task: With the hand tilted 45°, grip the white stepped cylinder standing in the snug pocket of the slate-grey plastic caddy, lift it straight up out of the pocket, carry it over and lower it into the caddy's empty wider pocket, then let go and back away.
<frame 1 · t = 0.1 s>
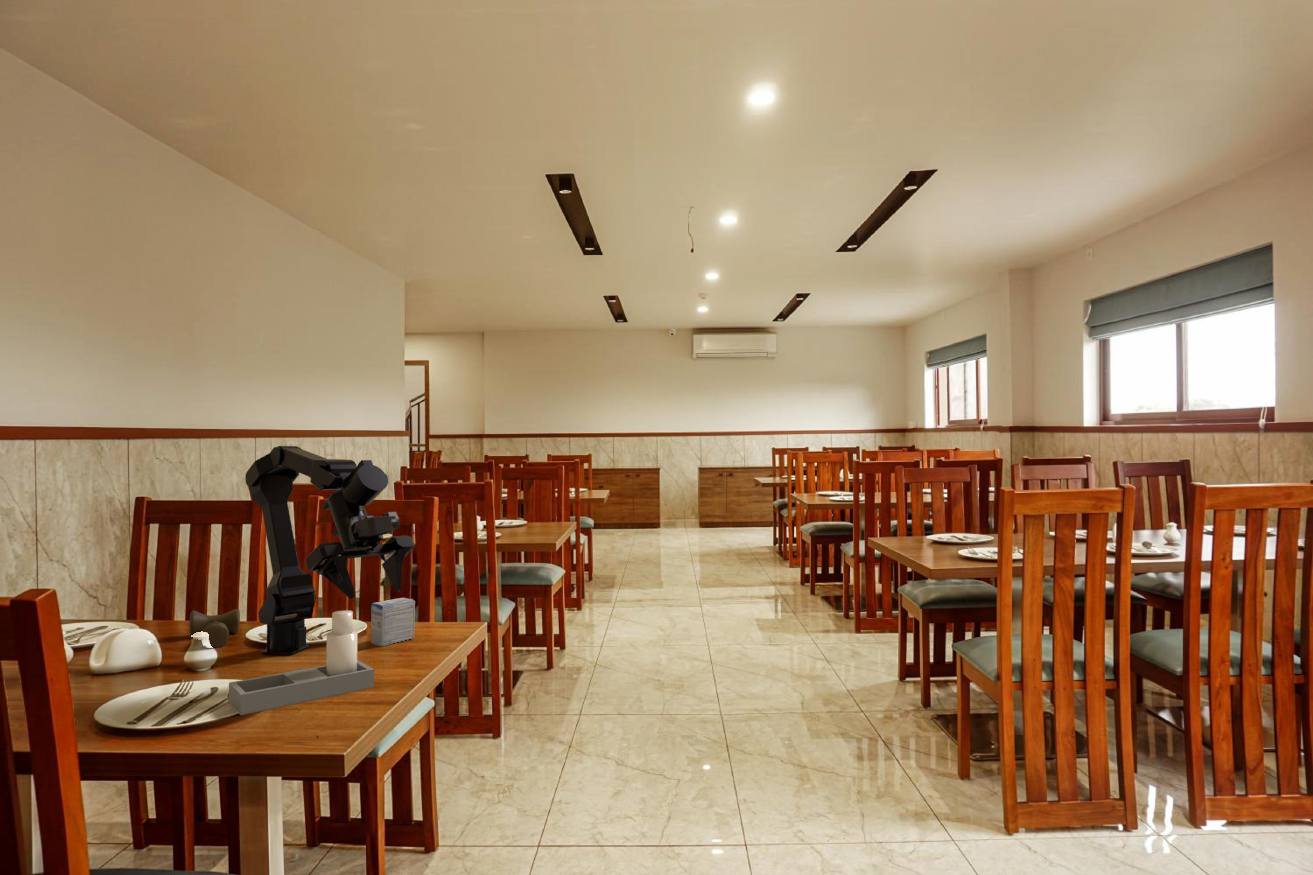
hand: (376, 594, 130), 15 cm above the table, tool tilted 35°, fingers open, 9 cm apart
caddy: (303, 697, 119), on the table
medicine box: (392, 642, 155), on the table
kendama: (214, 640, 158), on the table
white stepped cylinder: (341, 686, 123), point 1 cm above the table, touching caddy
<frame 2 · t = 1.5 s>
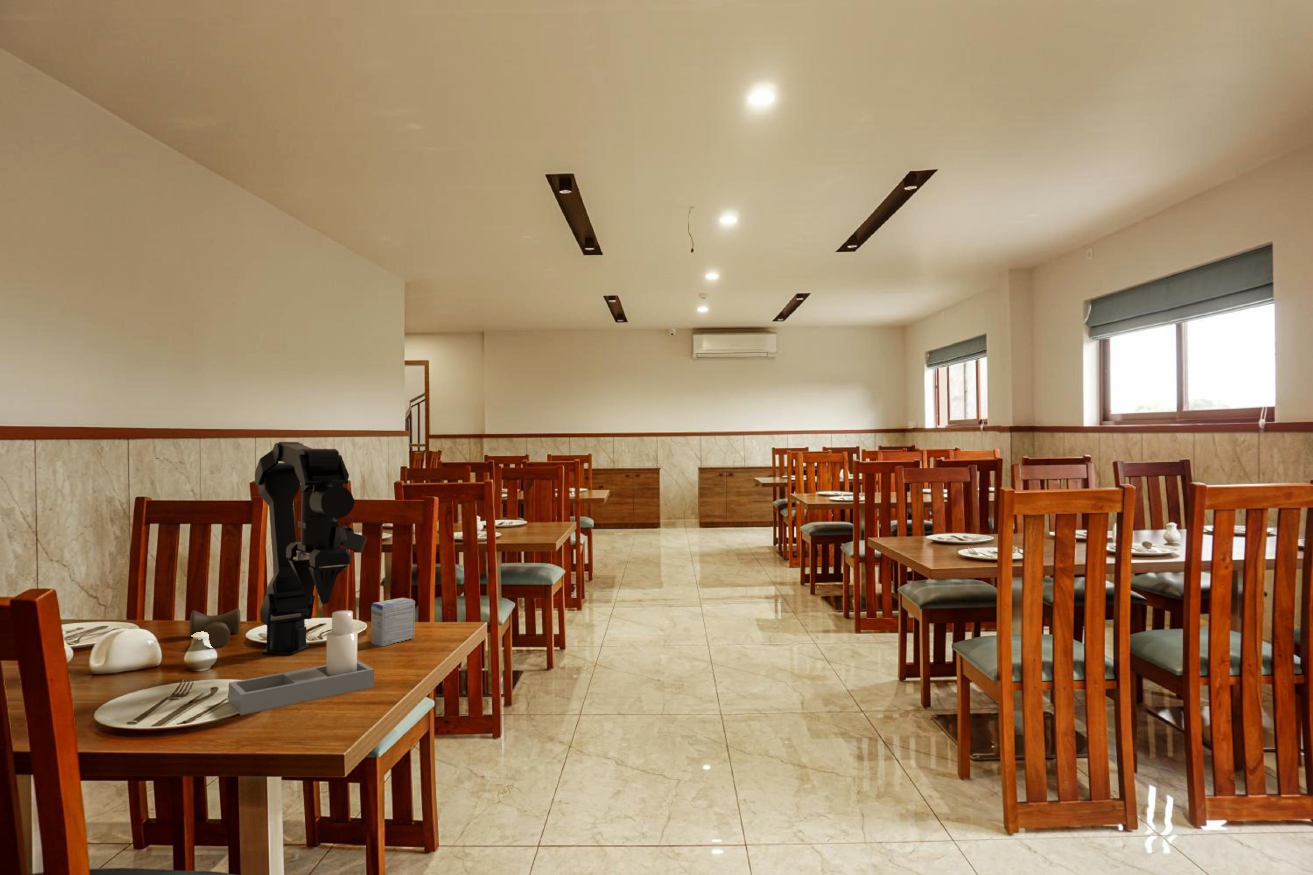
hand: (317, 600, 134), 13 cm above the table, tool pointing down, fingers open, 9 cm apart
nothing on the table moved.
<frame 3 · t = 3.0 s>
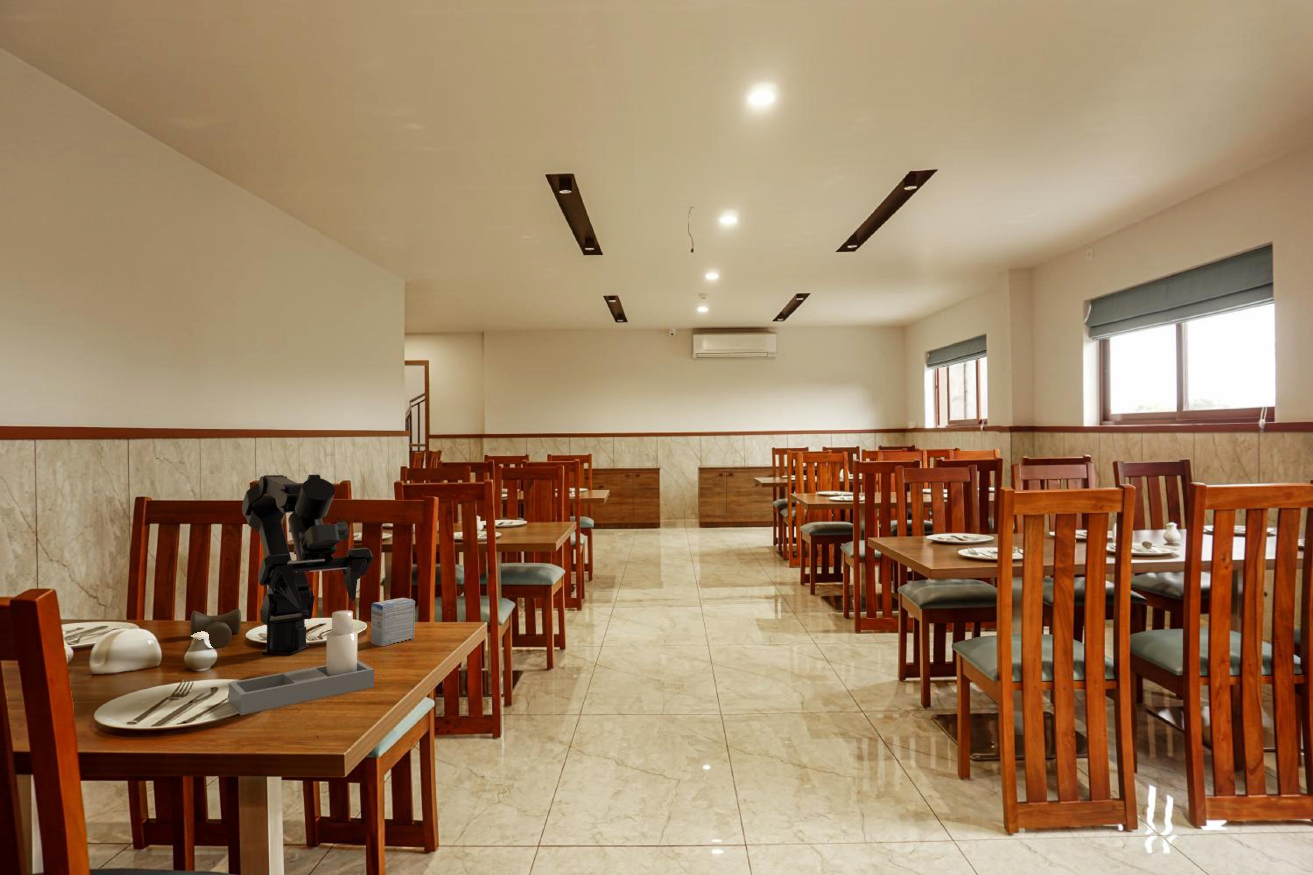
hand: (327, 603, 129), 13 cm above the table, tool tilted 45°, fingers open, 9 cm apart
nothing on the table moved.
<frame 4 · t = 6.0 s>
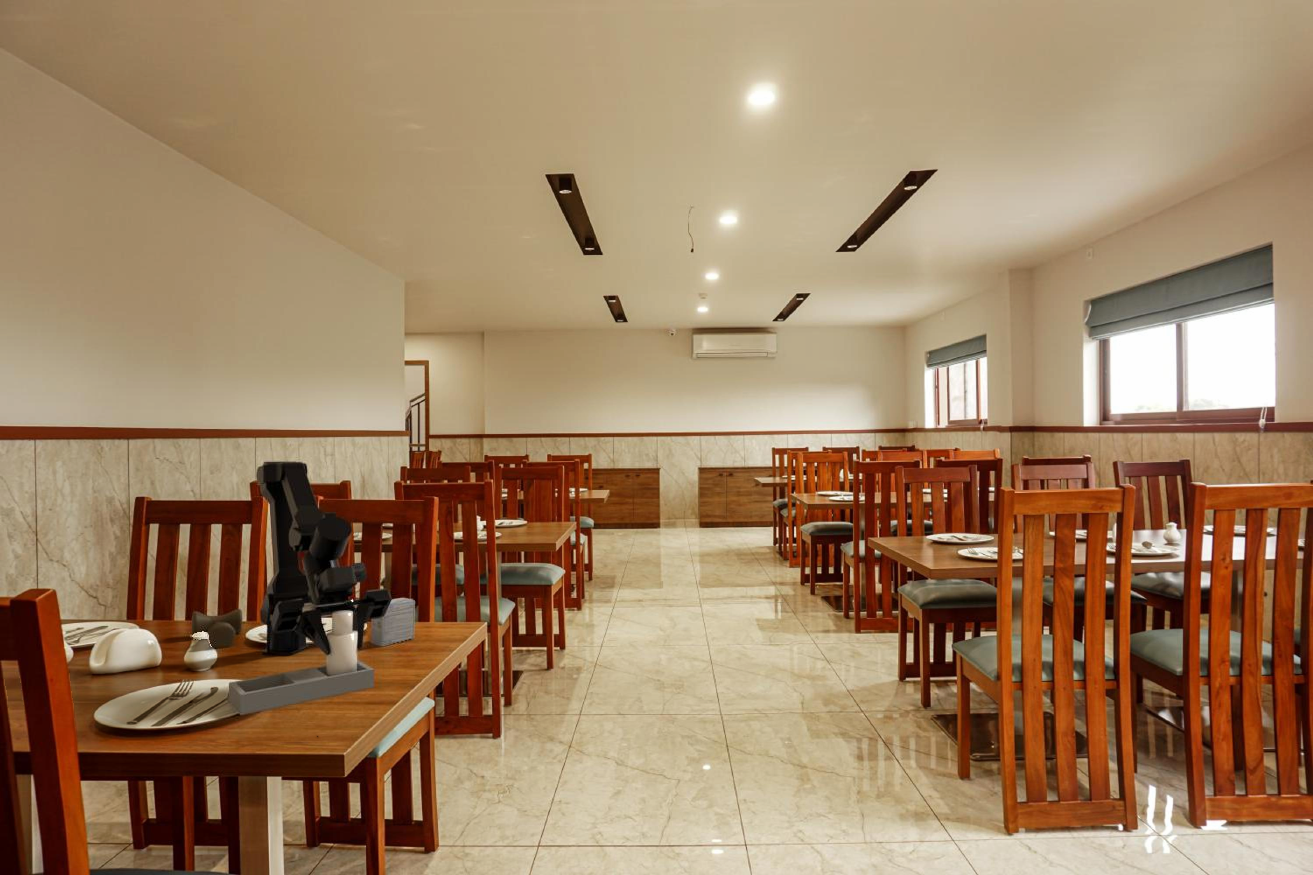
hand: (344, 650, 122), 7 cm above the table, tool tilted 45°, fingers closed on white stepped cylinder, 5 cm apart
white stepped cylinder: (341, 686, 123), point 1 cm above the table, touching caddy, gripper
everything else where it was.
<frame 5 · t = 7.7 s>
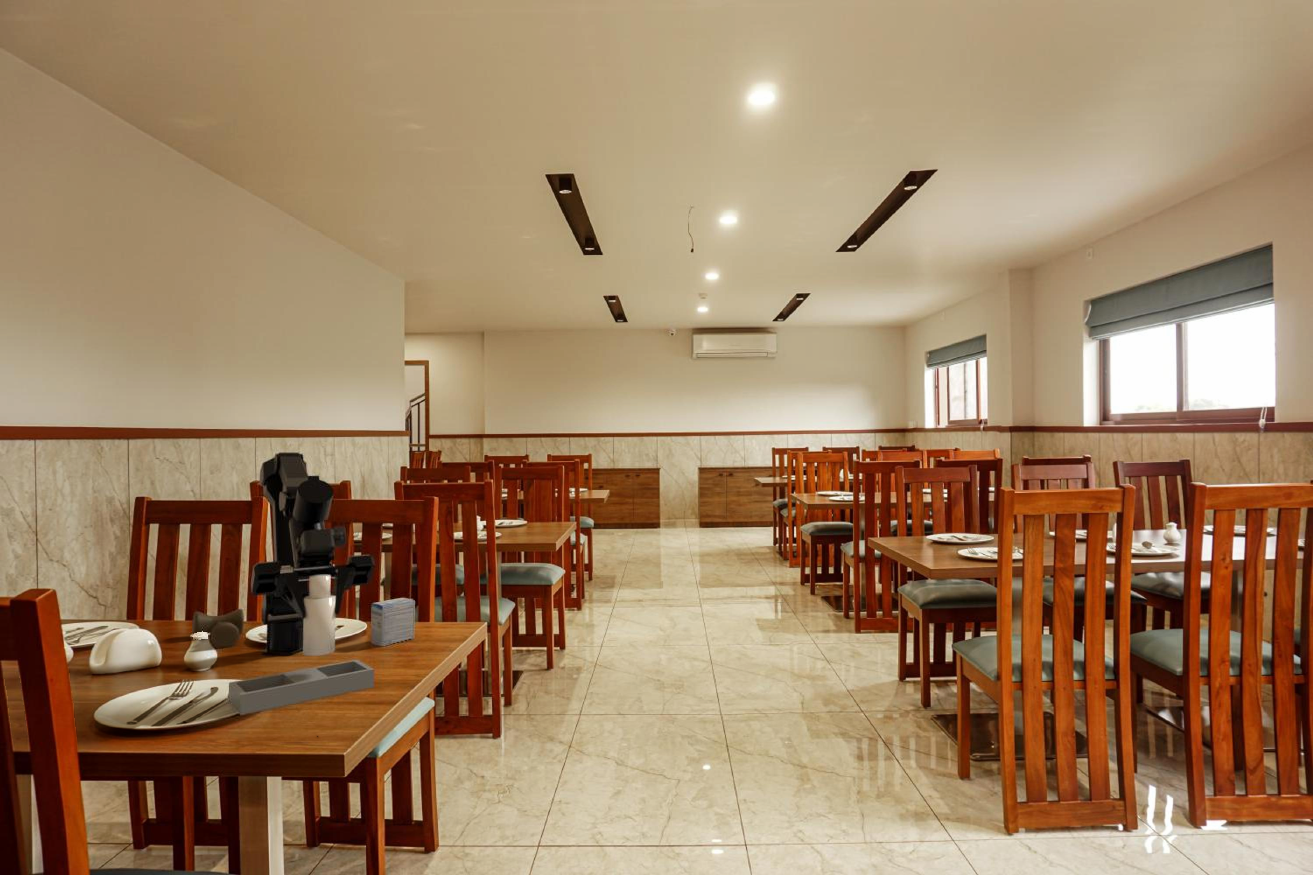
hand: (321, 615, 119), 13 cm above the table, tool tilted 45°, fingers closed on white stepped cylinder, 5 cm apart
white stepped cylinder: (318, 651, 120), point 7 cm above the table, touching gripper
when the fingers open (8 cm above the table, at t = 9.6 s): white stepped cylinder drops 2 cm, resting on caddy.
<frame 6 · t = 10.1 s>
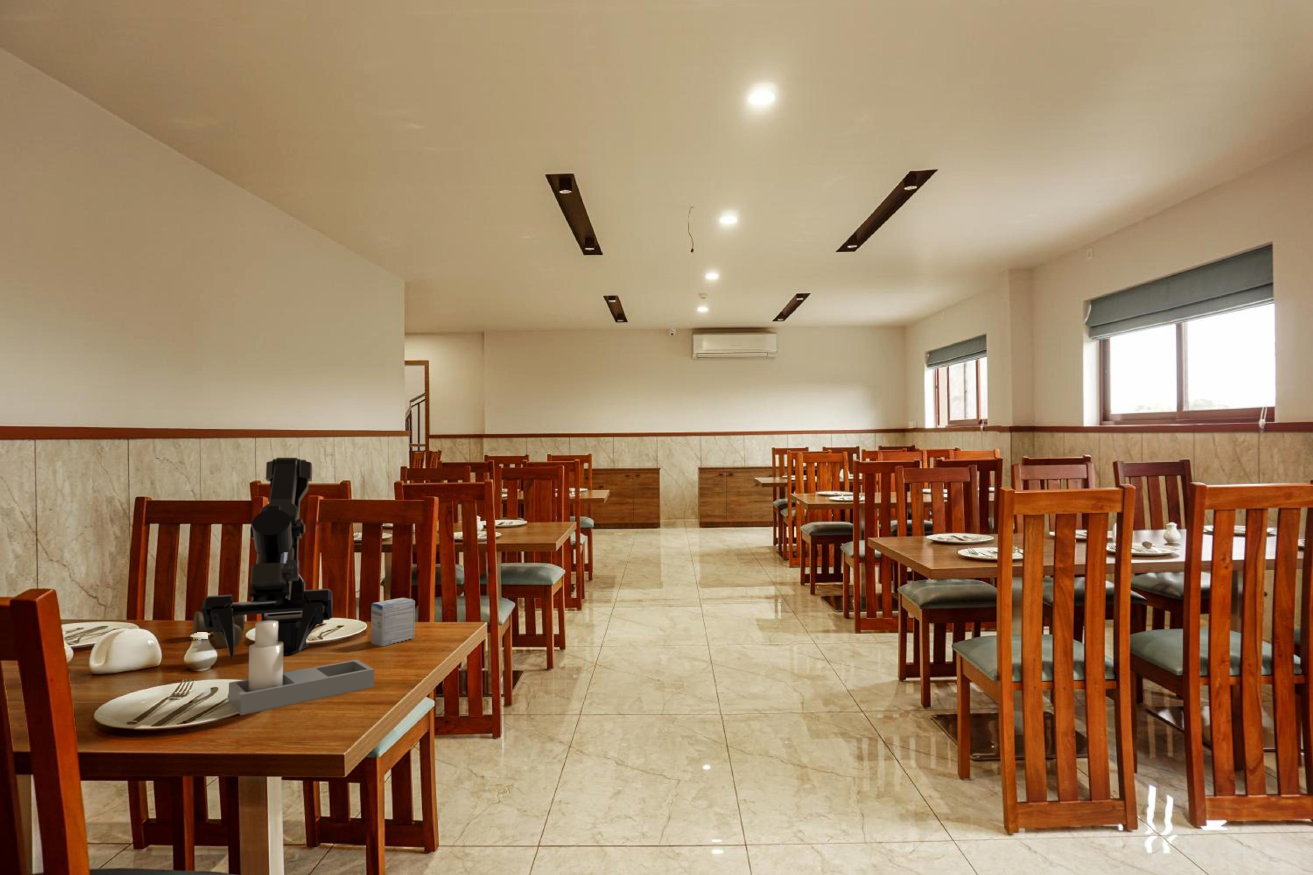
hand: (265, 653, 114), 9 cm above the table, tool tilted 45°, fingers open, 9 cm apart
white stepped cylinder: (265, 701, 115), point 1 cm above the table, touching caddy
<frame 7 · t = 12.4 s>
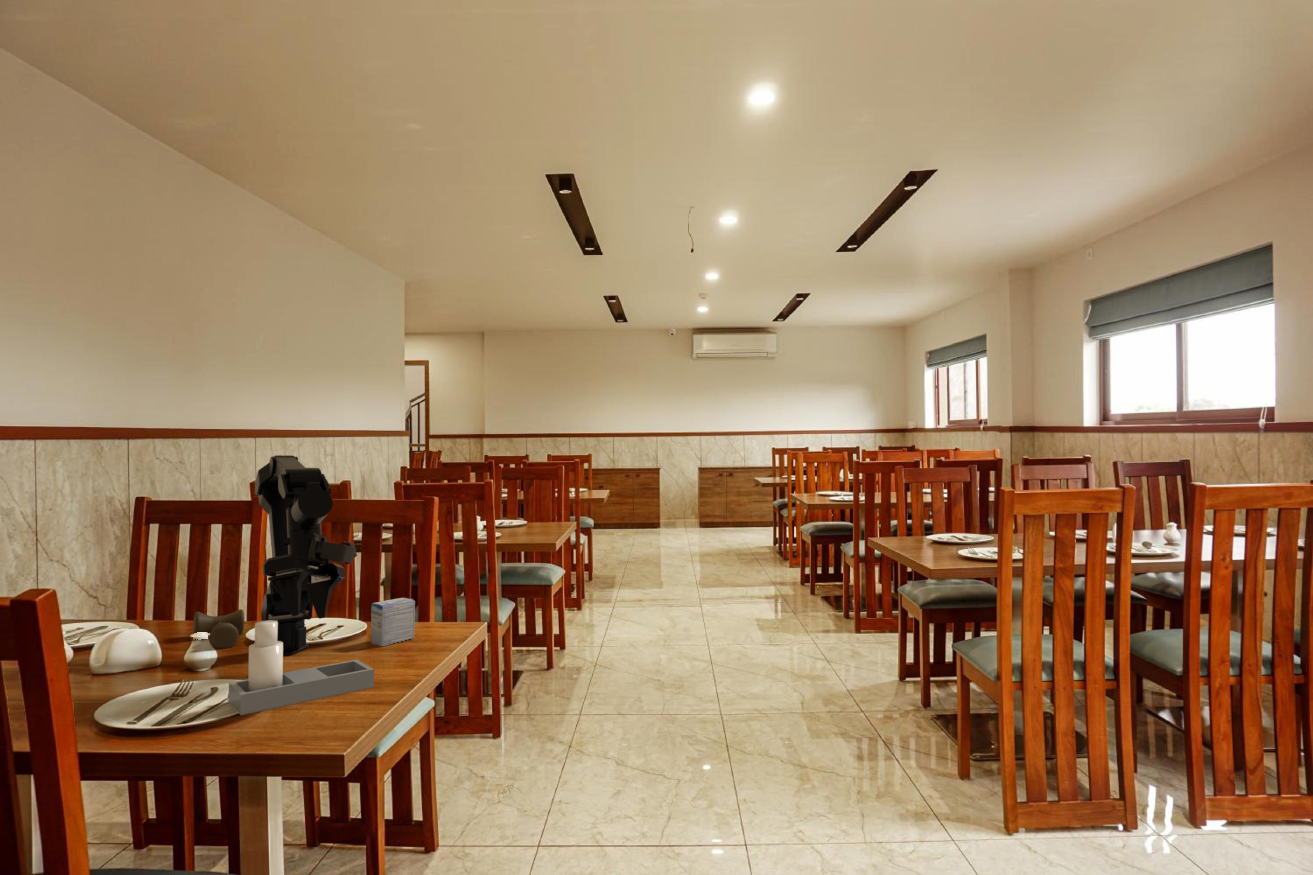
hand: (309, 616, 131), 11 cm above the table, tool tilted 20°, fingers open, 9 cm apart
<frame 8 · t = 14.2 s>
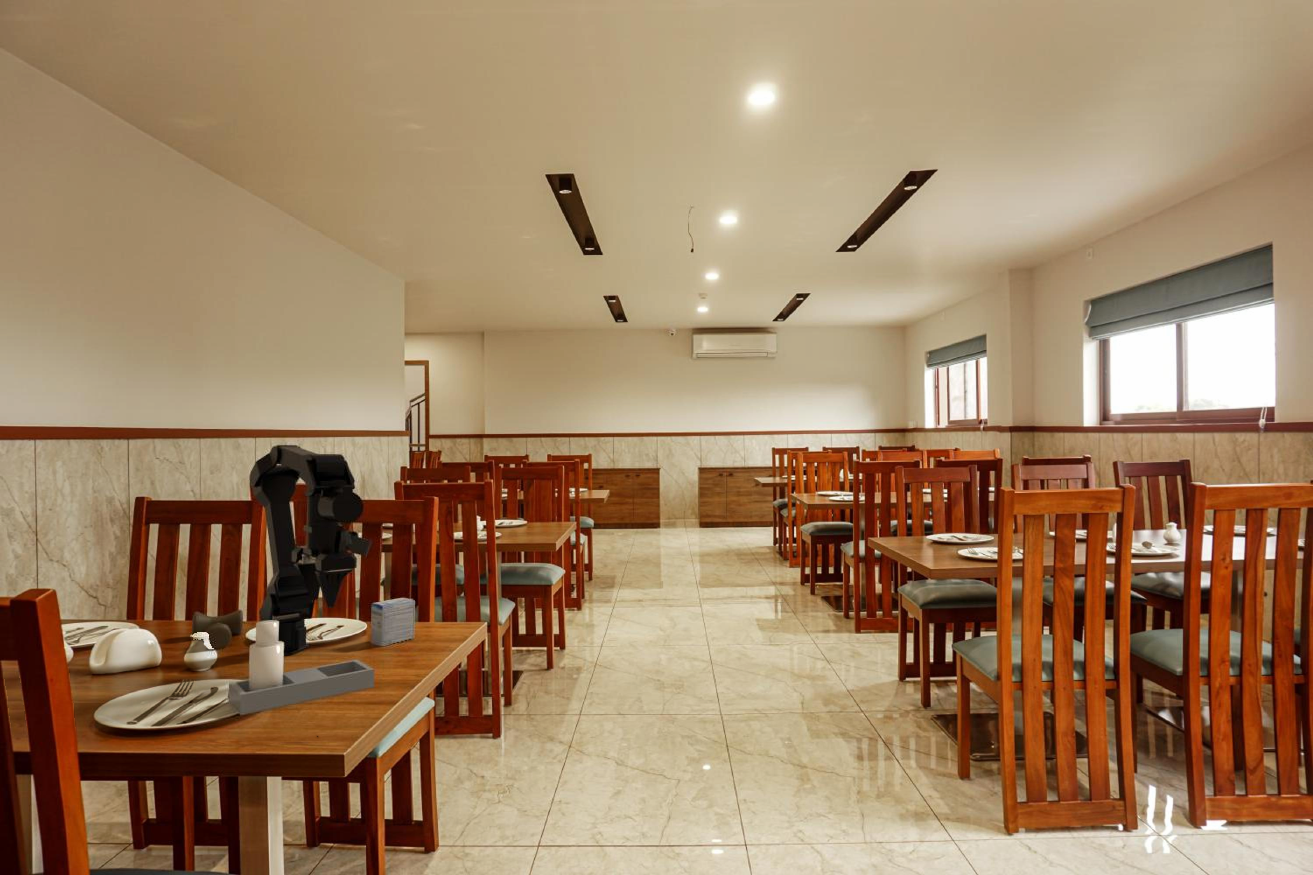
hand: (322, 603, 136), 12 cm above the table, tool pointing down, fingers open, 9 cm apart
at the end: white stepped cylinder 0.1 cm from the target spot, point 0.6 cm above the table; white stepped cylinder tilted 1°; the gripper is holding nothing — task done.
